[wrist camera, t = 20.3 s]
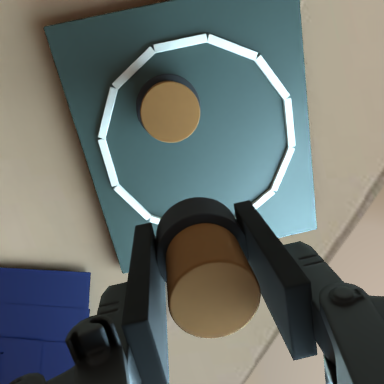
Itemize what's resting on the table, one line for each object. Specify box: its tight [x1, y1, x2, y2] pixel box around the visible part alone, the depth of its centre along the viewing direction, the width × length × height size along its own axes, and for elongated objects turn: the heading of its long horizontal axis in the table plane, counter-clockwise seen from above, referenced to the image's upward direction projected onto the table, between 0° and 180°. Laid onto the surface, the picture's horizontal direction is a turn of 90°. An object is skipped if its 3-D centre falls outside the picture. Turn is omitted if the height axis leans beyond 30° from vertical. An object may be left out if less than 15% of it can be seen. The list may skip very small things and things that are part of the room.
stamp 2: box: [156, 197, 261, 338], centre depth 14 cm, size 4×4×5 cm
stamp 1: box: [136, 74, 201, 143], centre depth 20 cm, size 4×4×5 cm
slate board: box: [44, 0, 317, 274], centre depth 24 cm, size 16×18×1 cm
